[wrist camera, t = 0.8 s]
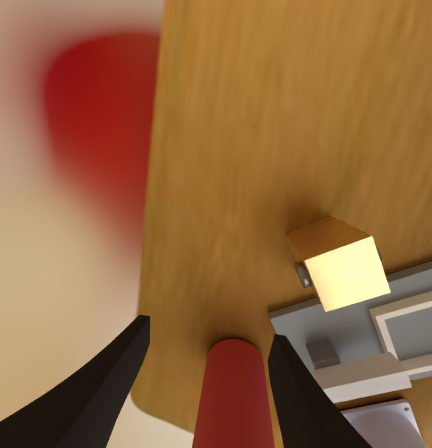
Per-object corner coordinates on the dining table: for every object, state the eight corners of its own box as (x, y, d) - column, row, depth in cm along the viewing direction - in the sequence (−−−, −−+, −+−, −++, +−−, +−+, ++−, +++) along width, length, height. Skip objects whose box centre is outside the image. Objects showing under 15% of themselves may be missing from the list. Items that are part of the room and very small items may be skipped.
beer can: (196, 351, 24) (158, 515, 13) (239, 325, 23) (240, 485, 11) (231, 387, 25) (224, 570, 14) (274, 364, 24) (309, 550, 12)
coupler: (351, 254, 19) (400, 289, 14) (295, 273, 20) (317, 314, 15) (337, 213, 18) (382, 232, 13) (278, 236, 20) (295, 263, 14)
